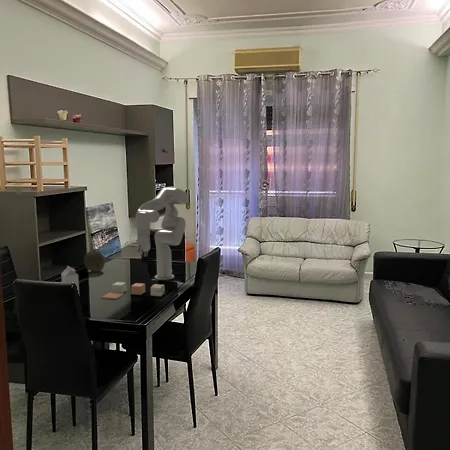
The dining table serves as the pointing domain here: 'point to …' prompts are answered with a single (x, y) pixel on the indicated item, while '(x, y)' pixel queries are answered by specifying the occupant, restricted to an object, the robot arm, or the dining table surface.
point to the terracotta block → (138, 288)
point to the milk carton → (70, 276)
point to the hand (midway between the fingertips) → (144, 262)
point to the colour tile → (113, 295)
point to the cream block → (157, 290)
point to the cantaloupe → (94, 261)
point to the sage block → (119, 287)
